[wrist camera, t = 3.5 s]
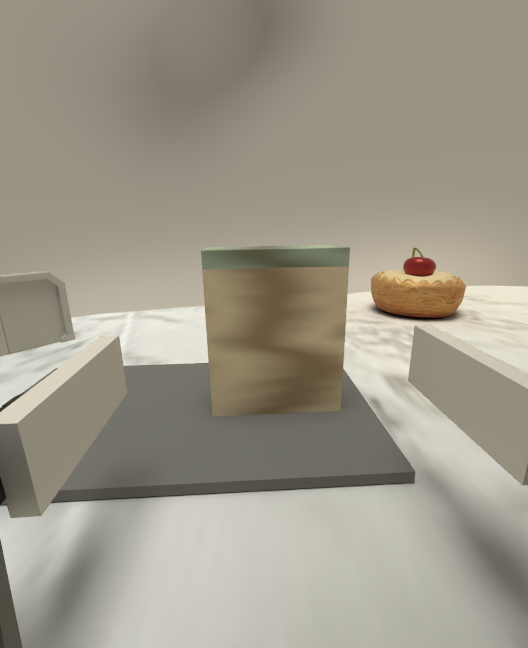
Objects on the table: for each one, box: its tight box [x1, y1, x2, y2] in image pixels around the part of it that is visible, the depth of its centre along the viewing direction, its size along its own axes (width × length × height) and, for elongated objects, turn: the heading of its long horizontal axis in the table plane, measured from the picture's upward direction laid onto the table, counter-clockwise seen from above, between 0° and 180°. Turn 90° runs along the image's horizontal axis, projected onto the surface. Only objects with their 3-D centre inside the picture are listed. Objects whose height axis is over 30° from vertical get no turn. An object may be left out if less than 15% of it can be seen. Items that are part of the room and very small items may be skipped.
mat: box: [1, 363, 415, 505], centre depth 22 cm, size 24×14×1 cm, turn 93°
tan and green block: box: [201, 245, 350, 417], centre depth 20 cm, size 8×3×10 cm, turn 93°
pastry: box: [371, 248, 466, 318], centre depth 46 cm, size 12×12×9 cm
